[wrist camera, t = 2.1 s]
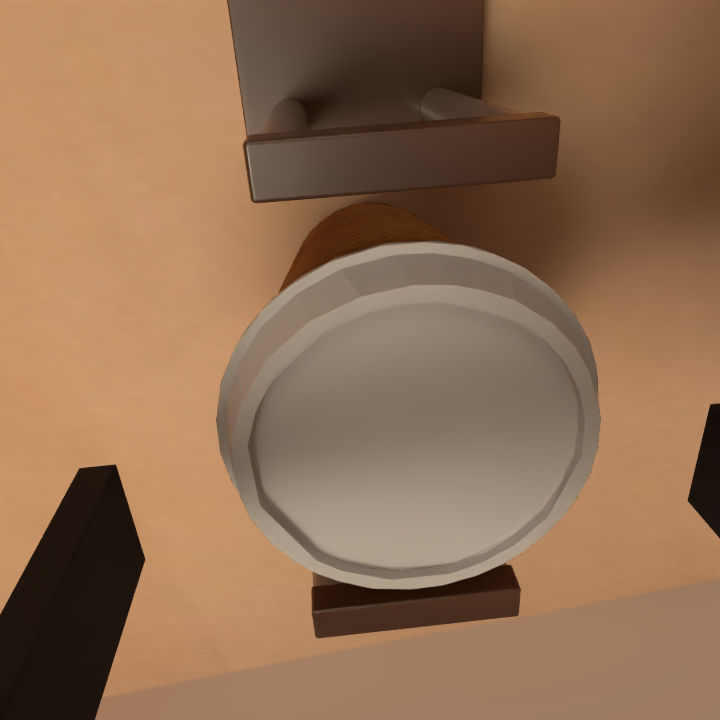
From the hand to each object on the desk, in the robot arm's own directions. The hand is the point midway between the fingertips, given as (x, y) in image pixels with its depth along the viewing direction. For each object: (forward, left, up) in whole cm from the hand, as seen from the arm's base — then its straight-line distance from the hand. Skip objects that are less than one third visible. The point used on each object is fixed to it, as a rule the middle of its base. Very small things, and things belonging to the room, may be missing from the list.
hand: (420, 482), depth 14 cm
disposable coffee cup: (0, 0, -13) cm, 13 cm away
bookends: (0, 0, -13) cm, 13 cm away
